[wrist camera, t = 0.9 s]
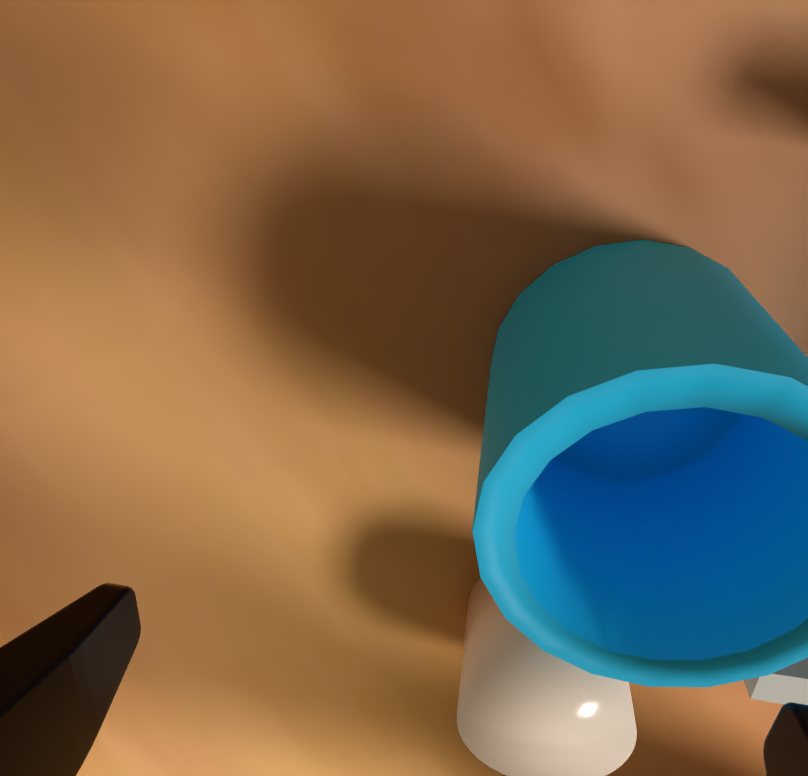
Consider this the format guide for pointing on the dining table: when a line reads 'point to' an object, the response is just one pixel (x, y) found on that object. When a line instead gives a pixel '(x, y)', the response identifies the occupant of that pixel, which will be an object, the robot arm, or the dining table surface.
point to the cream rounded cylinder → (536, 703)
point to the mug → (647, 471)
